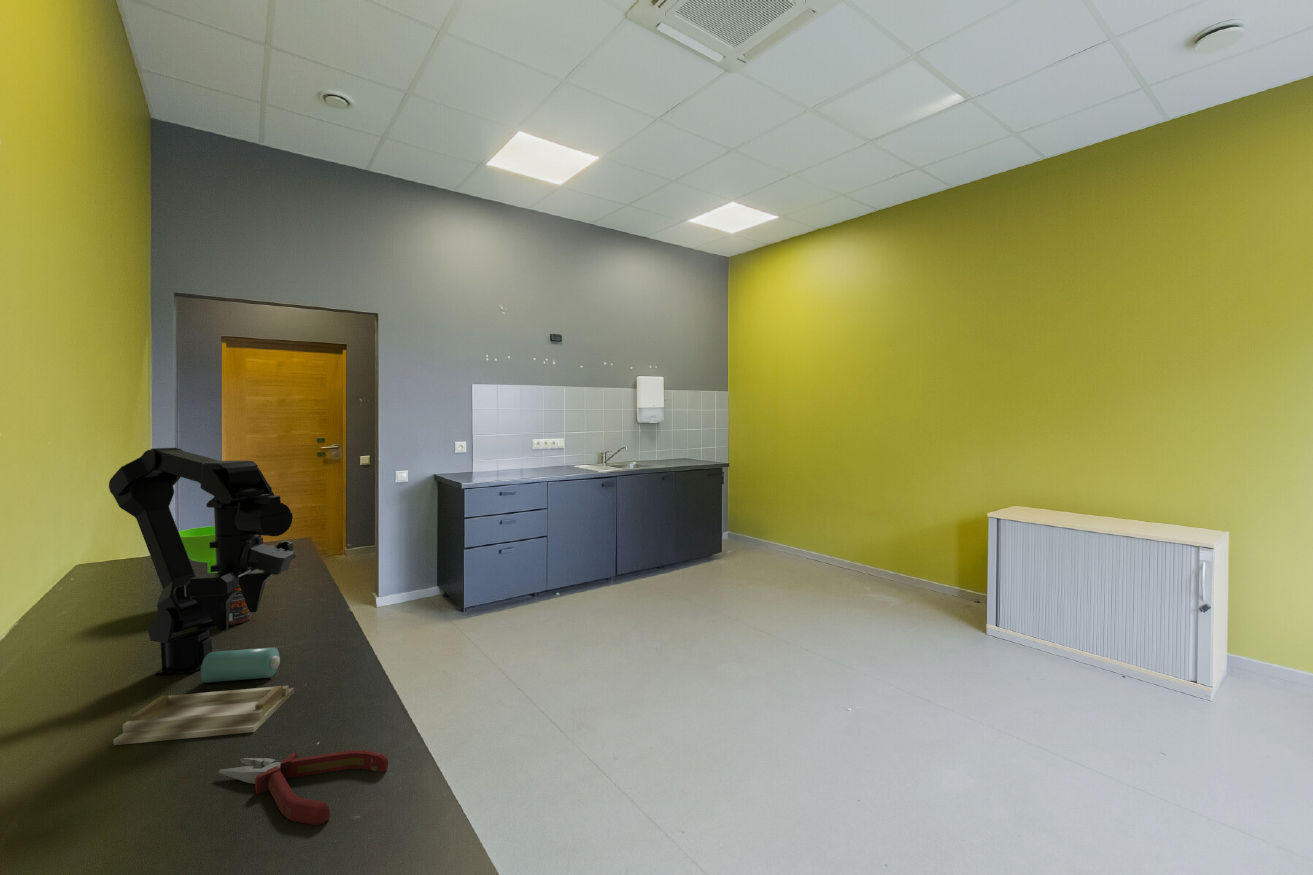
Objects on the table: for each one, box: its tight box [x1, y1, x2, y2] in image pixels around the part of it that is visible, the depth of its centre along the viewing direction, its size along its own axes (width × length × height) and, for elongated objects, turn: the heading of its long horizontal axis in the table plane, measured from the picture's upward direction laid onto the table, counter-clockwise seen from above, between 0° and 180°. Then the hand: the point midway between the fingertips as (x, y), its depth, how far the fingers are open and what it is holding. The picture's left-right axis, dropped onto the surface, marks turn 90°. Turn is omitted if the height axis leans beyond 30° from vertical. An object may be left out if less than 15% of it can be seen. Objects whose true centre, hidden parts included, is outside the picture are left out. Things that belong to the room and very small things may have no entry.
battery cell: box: [200, 646, 281, 684], centre depth 100 cm, size 11×5×5 cm, turn 99°
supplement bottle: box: [228, 584, 252, 626], centre depth 129 cm, size 6×6×11 cm
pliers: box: [217, 749, 389, 826], centre depth 70 cm, size 12×20×3 cm, turn 75°
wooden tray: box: [113, 685, 295, 746], centre depth 87 cm, size 18×12×3 cm, turn 99°
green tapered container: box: [178, 525, 218, 573], centre depth 145 cm, size 16×16×18 cm
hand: (239, 620), depth 100 cm, fingers open, 9 cm apart
